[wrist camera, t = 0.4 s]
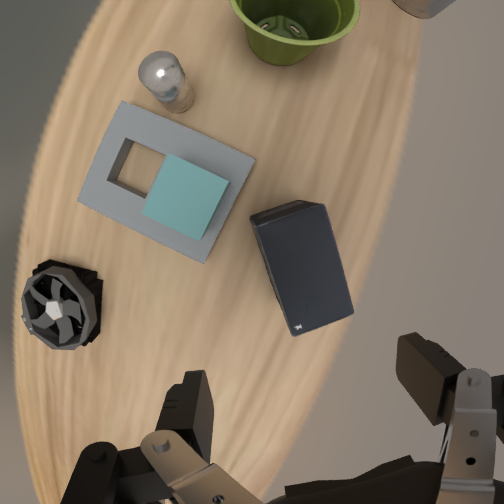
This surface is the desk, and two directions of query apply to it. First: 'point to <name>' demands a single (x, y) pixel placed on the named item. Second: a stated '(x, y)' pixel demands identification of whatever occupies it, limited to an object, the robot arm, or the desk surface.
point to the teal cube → (185, 197)
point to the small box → (303, 264)
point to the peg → (166, 81)
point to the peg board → (164, 141)
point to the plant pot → (299, 15)
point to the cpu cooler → (62, 305)
